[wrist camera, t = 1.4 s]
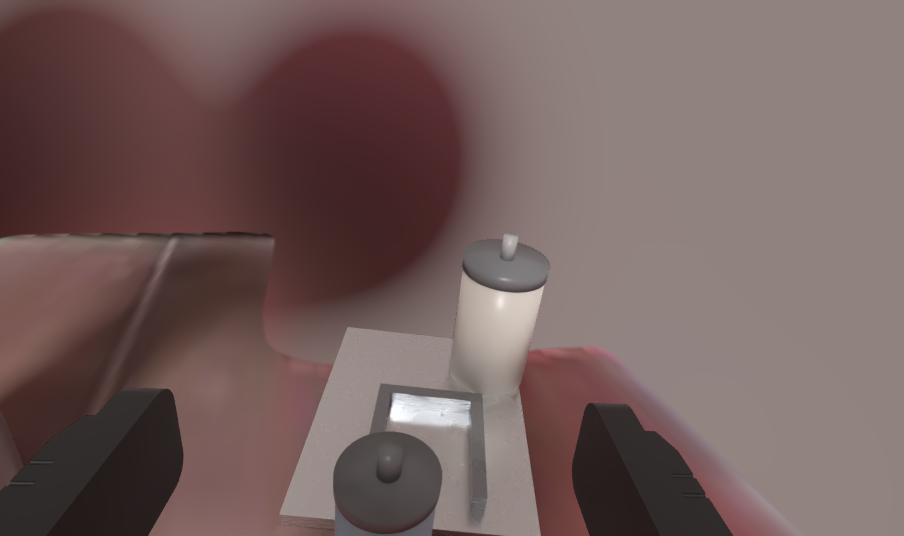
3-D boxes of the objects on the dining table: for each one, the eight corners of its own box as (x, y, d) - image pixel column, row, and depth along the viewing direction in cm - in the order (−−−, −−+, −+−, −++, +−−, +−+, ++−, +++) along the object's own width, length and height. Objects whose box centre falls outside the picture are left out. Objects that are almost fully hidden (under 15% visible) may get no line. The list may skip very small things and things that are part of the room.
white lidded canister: (446, 392, 43) (467, 250, 37) (448, 343, 50) (467, 214, 43) (527, 400, 44) (562, 260, 37) (519, 350, 50) (547, 224, 43)
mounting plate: (280, 524, 32) (278, 499, 31) (347, 334, 51) (347, 314, 49) (538, 548, 33) (545, 524, 31) (511, 352, 51) (515, 332, 50)
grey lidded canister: (322, 647, 26) (320, 492, 21) (343, 551, 31) (346, 403, 25) (418, 655, 26) (444, 504, 21) (425, 559, 31) (447, 414, 25)
